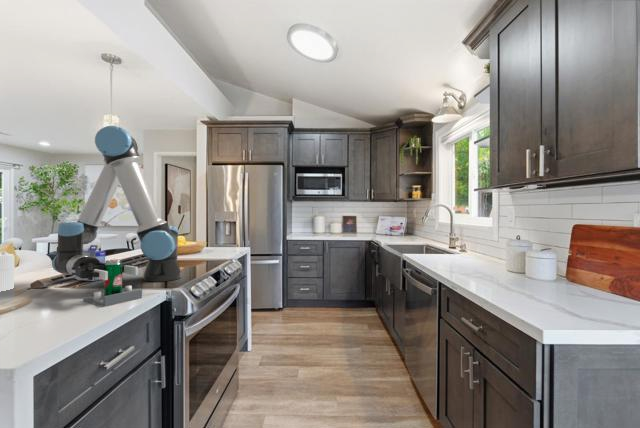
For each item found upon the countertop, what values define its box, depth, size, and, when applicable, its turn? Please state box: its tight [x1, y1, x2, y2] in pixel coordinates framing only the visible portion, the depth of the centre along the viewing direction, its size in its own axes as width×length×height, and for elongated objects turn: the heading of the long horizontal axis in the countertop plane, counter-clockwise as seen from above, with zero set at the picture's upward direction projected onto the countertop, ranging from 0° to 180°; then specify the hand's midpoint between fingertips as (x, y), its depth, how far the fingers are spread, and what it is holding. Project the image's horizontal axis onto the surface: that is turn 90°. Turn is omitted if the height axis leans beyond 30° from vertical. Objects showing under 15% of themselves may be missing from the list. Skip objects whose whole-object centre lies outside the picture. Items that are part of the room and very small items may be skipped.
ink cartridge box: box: [74, 244, 106, 282], centre depth 137 cm, size 10×6×14 cm, turn 78°
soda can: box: [103, 258, 123, 296], centre depth 107 cm, size 5×5×12 cm
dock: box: [83, 285, 143, 307], centre depth 107 cm, size 12×12×4 cm
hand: (122, 273), depth 105 cm, fingers open, 9 cm apart
